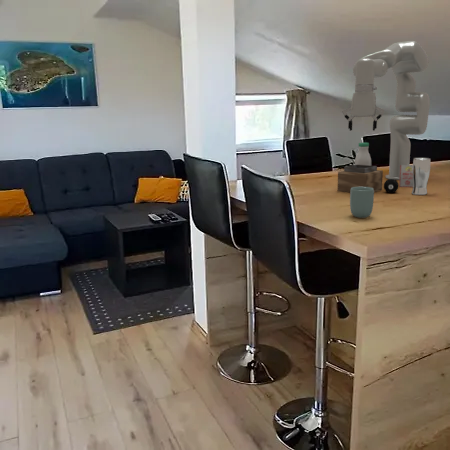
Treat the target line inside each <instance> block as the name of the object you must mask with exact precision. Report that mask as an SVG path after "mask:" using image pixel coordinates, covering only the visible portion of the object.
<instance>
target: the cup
mask: <svg viewBox="0 0 450 450" xmlns="http://www.w3.org/2000/svg"><path fill="white" fill-rule="evenodd" d="M349 195H350V196H349V206H350V208H349V210H350V213H351V215H352V216H353V217H354V218H361V219H366V218H368V217H371V215H372V212H373V207H374V199H375V196H374V195H375V192H374V189H373V188H371V187H352V188H351V190H350V194H349Z"/></svg>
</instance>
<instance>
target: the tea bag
mask: <svg viewBox="0 0 450 450" xmlns="http://www.w3.org/2000/svg"><path fill="white" fill-rule="evenodd" d="M412 168H413V164H409V165H400V180H398V181H399V182H398V188H413V174H412Z"/></svg>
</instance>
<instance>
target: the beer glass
mask: <svg viewBox="0 0 450 450" xmlns="http://www.w3.org/2000/svg"><path fill="white" fill-rule="evenodd" d="M412 162H413V163H412V165H413V168H412V174H413V187H412V191H411V194H412V195H414V196H426V194H427V195H428V189H427V187H428V182H429V181H428V180H429V178H430V173H431V158H429V157H413V161H412Z"/></svg>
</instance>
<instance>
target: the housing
mask: <svg viewBox="0 0 450 450" xmlns="http://www.w3.org/2000/svg"><path fill="white" fill-rule="evenodd" d="M383 178H384V171H383V170H380V169H378V166H377V165H371V166H369V165H355V164H353V165H347V166H343V170H340V171H338V172H337V192H342V193H343V192H344V193H350V190H351V188H352V187H371V188H373V189H374V193H376V192H381V191H383V180H384V179H383Z"/></svg>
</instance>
